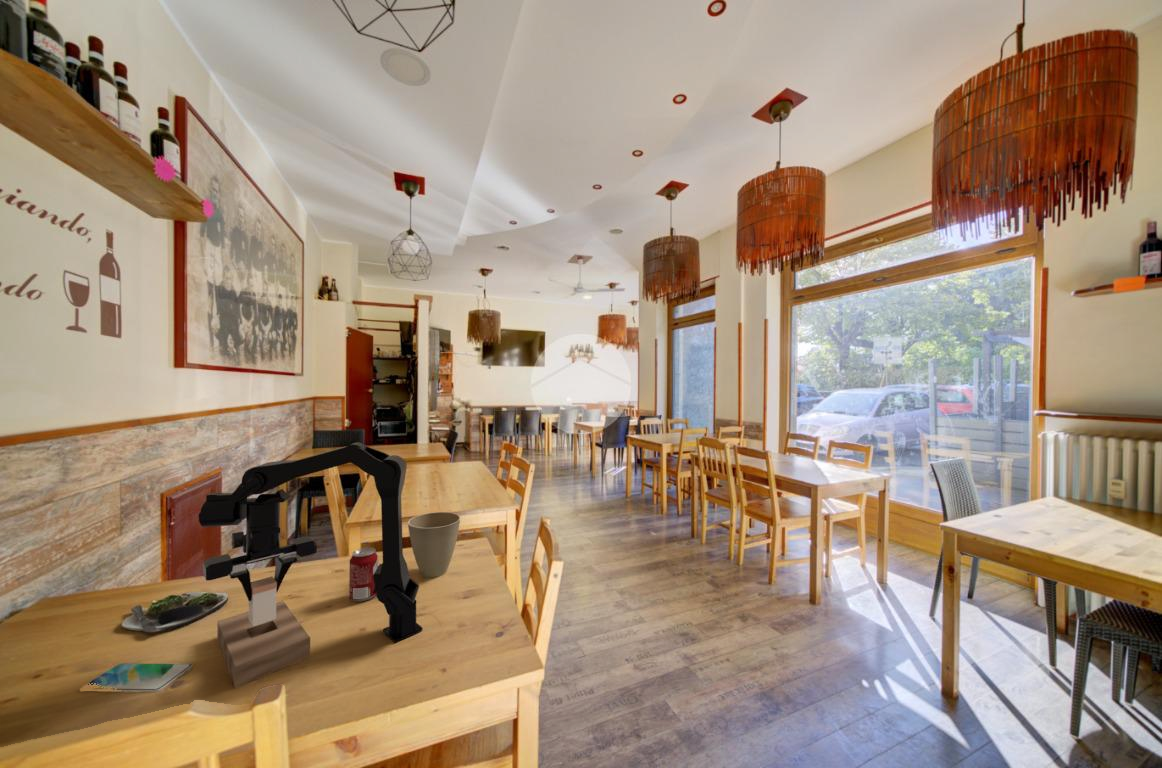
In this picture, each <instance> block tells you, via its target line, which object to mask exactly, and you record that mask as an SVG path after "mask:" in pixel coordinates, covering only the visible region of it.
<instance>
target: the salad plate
mask: <svg viewBox="0 0 1162 768" xmlns="http://www.w3.org/2000/svg"><path fill="white" fill-rule="evenodd" d="M228 600H229V596H228V594H227V593H222V592H205V591H203V592H202V591H189V592H185V593H180V594H177V595H176V594H169V595H167V596H165V597H164V598H160V599H159V600H155V599H153V600H151V603H150V605H149V607H146V608H144V607H143V606H142V605H136V606H133V607H131V609H130V611H131V613H132V615H128V617H126V618H125V619H123V621H122V622H121V627H122V628H124V629H127V630H131V631H139V632H145V633H149V634H150V633H152V634H160V633H166V632H171V631H175V630H178V629H182V628H184V627H188V626H190V625H192V624H194V623H196V622H198V621H200V620H202V619H204V618H206V617H208V616H210V615H212V614H214V613H215V612H217V611H219V610H220V609H222V608H223V607H224V606H225V605H226V604H227V603H228Z"/></svg>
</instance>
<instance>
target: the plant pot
mask: <svg viewBox="0 0 1162 768" xmlns="http://www.w3.org/2000/svg"><path fill="white" fill-rule="evenodd" d="M460 522H461V516H460V514H458V513H455V512H451V511H450V512H448V511H447V512H446V511H435V512H427V513H423V514H422V513H421V514H419V515H416V516H413V517H412V518H410V519H409V520H408V521H407V526H408V527H407V528H408V532H409V533H408V534H409V539H410V544H411V548H412V549H411V550H412V552H413V556H414V559H415V562H416V565H417V567H418V570H419V573H420V575H421V576H422V577H424V578H436V577H440V576H442V575H445V574H446V573H447V572H448V569H449V565H450V564H451V560H452V558H453V555H454V550H455V548H456V543H457V539H458V535H459V528H460Z"/></svg>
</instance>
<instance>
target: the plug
mask: <svg viewBox="0 0 1162 768" xmlns="http://www.w3.org/2000/svg"><path fill="white" fill-rule="evenodd" d="M276 588H277V582H276V580H275V579H274V577H273V576H269V577H265V578H261V579H258V580H254V581H251V590H252V599H251V601H249V600H248V611H249V621H250V623H251V625H252V627H253V626H256V625H259V624H262V623H265V622H268V621H271V620H274V619H276V603H277V593H276Z"/></svg>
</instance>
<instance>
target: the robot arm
mask: <svg viewBox="0 0 1162 768" xmlns="http://www.w3.org/2000/svg"><path fill="white" fill-rule="evenodd" d="M349 463H351V464H353V465H355V467H357V468H359V469H360V470H361V471H363V472H364V473H365V474H368V475H370V476H371V477H373V479H374V484H375V488H376V490H377V491H376V492H377V493H378V495H379V497H380V505H381V507H380V508H381V538H382V539H381V543H382V545H381V546H382V549H381V550H382V563H378V568H377V569H376V571H375V573H374V574H373V579H374V584H375V588H374V591H373V594H374V593H376V592H377V593H376V595H375V596H376V599H377V601H378V602H380V603H381V604H383V605H384V608H385V610H386V613H387V615H388V621H389V622H388V626H387V627H384V628H383V629H382V633H384V634H385V635H386V636H387V637H388V638H389V639H390V640H391V642H393V643H397V642H400V641H402V640H404V639H406V638H409V637H411V636H412V635H415V634H417V633H420V632H422V631H423V627H422V626H421V625H420V624H419V623H418V622H417V600H416V597H417V594H418V592H419V589H420V585H419V584H418V583H417V582H416V581H415V580H413V579H412V578H411V577H410V573H409V567H408V564H407V562H406V559H405V557H404V554H403V553H404V552H403V549H404V547H403V520H402V519H403V511H402V494H403V489H404V485H405V479H406V475H407V468H408V467H407V465H408V464H407V462H406V460H405V459H404V458H403V457H401V456H399V455H395V454H392V455H390V454H388V453H386V452H384V451H382V450H378V449H375V448H373V447H370V446H368V445H366V444H364V443H363V442H354V443H351V444H349V445H346V446H342V447H338V448H335V449H332V450H328V451H324V452H320V453H317V454H313V455H309V456H307V457H302V458H299V459H292V460H291V459H290V460H289V459H288V460H277V461H270V462H269V461H268V462H265V463H262V464H259V465H256V466H254V467H251V468H249V469H246V470H245V471H244V473H243V475H242V476H241V483H240V484H239V485H238V486H237V487H236V488H235V490H234V491H233V492H211V493H209V494H207V495H206V498H205V501H204V503H203V504H202V506H201V509H200V510H199V513H198V522H199V525H200V526H201V527H203V528H209V527H210V528H211V527H226V526H227V527H228V526H238V525H240V524H241V523H242V521H245V519H246V522H245V523H246V524H245V525H246V527H245V528H246V530H245V532H244V531H239V532H238V531H237V532H233V533H231V549H232V550H233V549H238V548H242V552H243V553H244V554H245V555H244V554H243V555H240V556H236V557H231V555H230V554H229V553H226V554H221V555H217V556H213V557H208V558H206V559H204V561H203V562H202V574H203V577H204V578H205V581H213V580H217V579H221V578H224V577H226V578H227V577H228V576H229V578H230V579H238V581H239V582H240V583H241V586H242V588H243V591H244V593H245V596H246V598H247V600H248V602H249V601H251V599H252V590H251V582H252V581H251V572H250V570H249V568H248V565H250V564H254V563H258V562H262V561H267V560H271V559H275V560H274V561H275V566H274V567H275V569H274V577H273V578H274V579H275V580H276V582H277V588H276V594H277V593H278V592H279V589H280V587H281V585H282V583H283V581H284V579H285V576H286V574H288V571H289V570H290V568H291V566H292V564H294V563H297V562H298V558H297V557H296V555H297V556H299V557H300V558H304V557H307V556H311V555H315V554H317V552H318V551H317V550H318V545H317V541H315V540H314V539H313V538H312V537H310V536H309V535H305V536H302V537H300V536H299V537H297V538H292V539H290V541H289V544H288V545H284V546H281V545H280V544H281V542H280V541H281V540H280V539H281V538H280V536H281V503H285V502H286V501H288V500H291V499H292V496H293V495H291V494H289V493H288V492H286V491H285V489H284V488H281V489H279V490H277V491H276V492H274V493H271V492H270V493H266V492H268V491H270V490H273V489H275V488H277V487H279V486H281V485H284V484H285V483H288V482H290V481H292V480H295V479H297V478H300V477H304V476H307V475H311V474H315V473H318V472H322V471H326V470H329V469H332V468H333V469H334V468H336V467H339V466H343V465H346V464H349ZM254 495H255V496H256V495H258V496H257V497H251V496H254ZM249 497H250V498H249Z"/></svg>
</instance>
